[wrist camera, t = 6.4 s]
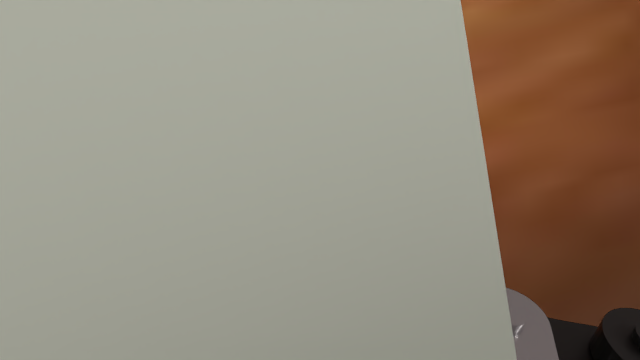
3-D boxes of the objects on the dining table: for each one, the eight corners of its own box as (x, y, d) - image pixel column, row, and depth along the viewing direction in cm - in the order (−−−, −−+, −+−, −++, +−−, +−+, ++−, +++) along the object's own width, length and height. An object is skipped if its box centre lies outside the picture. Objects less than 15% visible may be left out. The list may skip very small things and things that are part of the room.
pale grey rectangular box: (167, 164, 14) (-12, -46, 5) (329, 156, 15) (454, -37, 6) (173, 441, 13) (-75, 963, 3) (352, 416, 14) (581, 770, 4)
